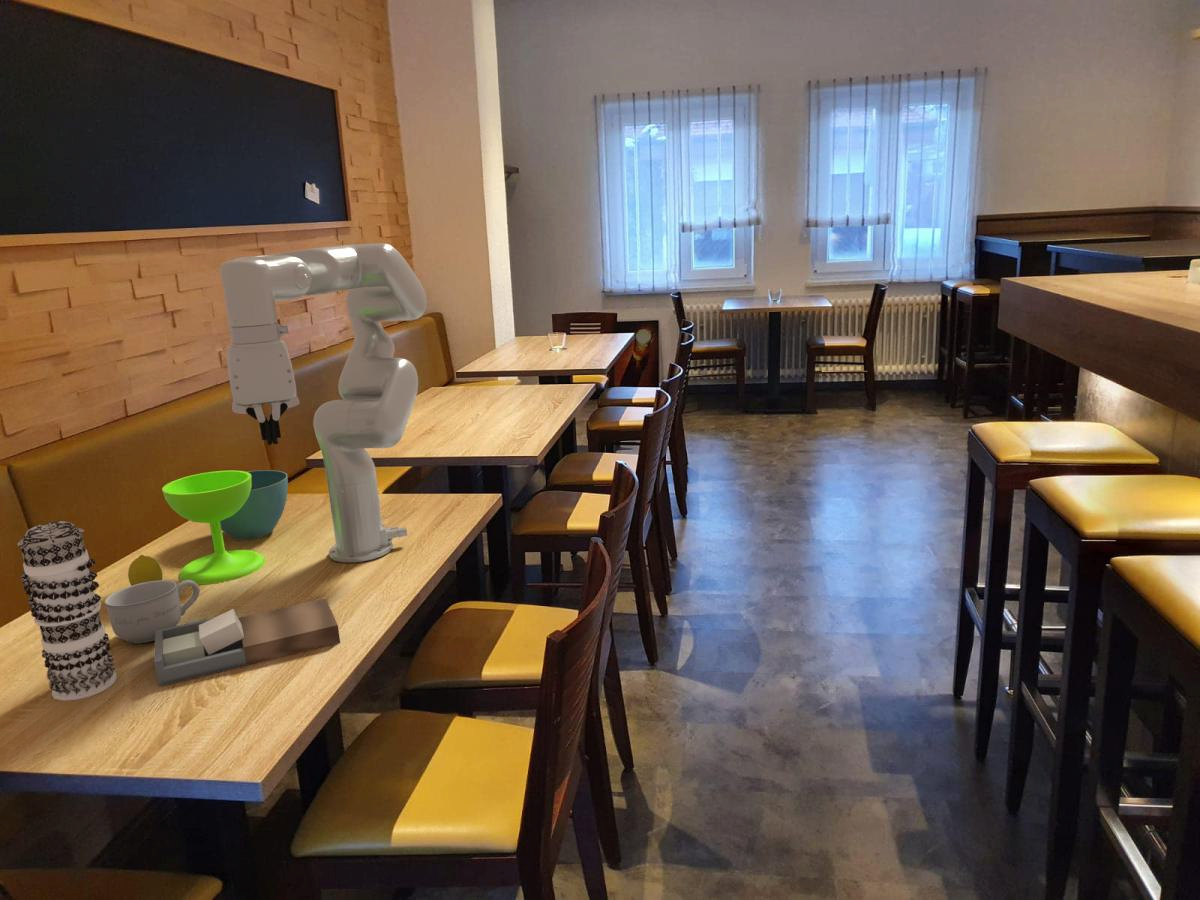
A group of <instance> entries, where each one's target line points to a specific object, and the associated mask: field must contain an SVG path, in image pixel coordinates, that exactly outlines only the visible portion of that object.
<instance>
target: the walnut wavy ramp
mask: <svg viewBox="0 0 1200 900" xmlns="http://www.w3.org/2000/svg"><path fill="white" fill-rule="evenodd" d="M238 619H239V621H240V622H241V624H242V629H243V634H244V638H243V639H242V643H243V648H244V654H245V659H246V666H249V665H252V664H256V663H262V662H265V661H269V660H274V659H278V658H282V657H286V656H289V655H295V654H298V653H302V651H303V652H306V650H307V651H310V649H311V650H314V648H315V649H318V648H323V647H326V646H330V644H331V645H334V644H339V643H341V637H340V630H339V624H338V622H337V620H336V618H335V616H334V614H333V612H332V609H331V606H330V604H329V602H328V599H327V598H326V597H325V598H320V599H316V600H312V601H307V602H303V603H299V604H295V605H294V604H293V605H289V606H286V607H280V608H275V609H271V610H267V611H263V612H258V613H254V614H249V615H244V616H240V617H239V616H238Z"/></svg>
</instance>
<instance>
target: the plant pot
mask: <svg viewBox="0 0 1200 900" xmlns="http://www.w3.org/2000/svg"><path fill="white" fill-rule="evenodd" d="M247 472H248V473H250V474H251V481H252V487H251V491H250V494H249V497H248V499H247V501H246V502H245V504H244V505H243V507H242V508H241V509H240V510H239V511H237V512H236V513H235V514H234V515H233V516H231V517H229V518H226V519H224V520H222V521H220V524H221V530H222V532H223V533H225V535H227V536H229V537H230V538H232V539H234V540H237V541H249V539H250V540H255V538H256V539H259V537H260V538H262V537H265V535H266V536H268V535H269V534H271V533H272V532H273V530H274V529H275V528H276V526H277V524H278V523H279V521H280V520H281V517H282V516H283V513H284V510H285V507H286V503H287V498H288V491H289V480H288V474H287V473H286V472H283V471H280V470H272V469H271V470H269V469H266V470H260V469H259V470H249V471H247Z"/></svg>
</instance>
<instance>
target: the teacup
mask: <svg viewBox="0 0 1200 900" xmlns="http://www.w3.org/2000/svg"><path fill="white" fill-rule="evenodd" d="M186 587H190V588H192V594H191V596H190V597H189V598H188V600H187V601H186V602H184V603H183V604H181V601H180V598H181V595H182V591H183V589H184V588H186ZM200 593H201V592H200V587H199V584H197V583H195V582H194V581H192V580H185V581H181V582H179V583H178V584H177V582H175V581H173V580H168V579H167V580H166V579H164V580H163V579H162V580H161V581H151V582H145V583H140V584H136V585H133V586H131V585H130V586H127V587H124V588H123V589H119V590H117V591H115V592H113V593H111V594H110V595H108V596H107V597H106V599H104V605H105V606H106V609H107V611H106V612H107V614H108V619H109V623H110V625H111V628H112V631H113V633H114V635H116V637H118V638H119V639H121V640H123V641H127V642H128V643H131V644H144V643H149V642H153V641H154V642H155V630H158V629H163V628H168V627H172V626H177V625H179V623H180V621H181V618H182V617H183V616H184V615H185V613H186V611H187V610H188V609H189V608H190V607H191V606H193V604H194V603H196V601H197V600H198V598H199V597H200Z"/></svg>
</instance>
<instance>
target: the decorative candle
mask: <svg viewBox="0 0 1200 900" xmlns="http://www.w3.org/2000/svg"><path fill="white" fill-rule="evenodd" d="M84 533H85V530H84V528H82V527H77V526H76V525H75V524H74V523H72V522H70V521H64V520H63V521H52V522H47V523H43V524H38V525H36V526H34V527H32V528H29V529H28V530H27V531H26V532H25V533H24V536H23V538H22V539H21V540H19V541H18V542H17V546H18V547H20V550H21V554H22V559H23V564H22V566H23V571H22V573H21V574H22V575H21V576H20V580H21V581H22V584H23V585H24V586H23V590H24V594H25V595H28V597H29V598H28V600H27V603H28V604H29V607H30V614H31V617H32V618H34V620H33V623H34V624H35V625H37V626H38V627H39V630H40V635H41V640H40V641H41V644H42V645H41V646H42V649H43V650H42V651H41V657H42V658H44V659H45V660H44V667H45V668H47V669H48V670H47V671H46V678H47V680H49V683H48V686H49V689H51V690H52V692H51V696H52V697H53V699H55V700H56V701H61V702H62V701H63V702H69V701H70V702H71V701H78V700H83V699H87V698H90V697H93V696H94V695H95V696H96V695H98V694H100V693H102V692H104V691H105V690H107V689H110V688H111V687H112V686H113V685H114V684H115V683H116V682H117V680H118V679H117V678H118V676H117V673H116V672H115V670H116V666H115V663H114V662H113V661H114V660H115V659H114V658H113V654H112V653H110V650H111V644H110V643H109V640H110V638H109V635H108V633H106V630H105V626H104V623H103V622H102V619H101V614H100V610H101V609H102V603H101V599H102V597H101V596H100V594H98V593H95V592H94V591H96V590H97V589H98V588H99V587H100V584H99V582H97V581H95V579H96V578H97V577H98V574H97V572H95V571H93V570H90V568H92V567H93V566H94V565H95V564H96V561H95V560H94V559H93V558H91V557H89V552H88V549H86V546H85V542H84V541H85V540H84V536H83V534H84Z"/></svg>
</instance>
